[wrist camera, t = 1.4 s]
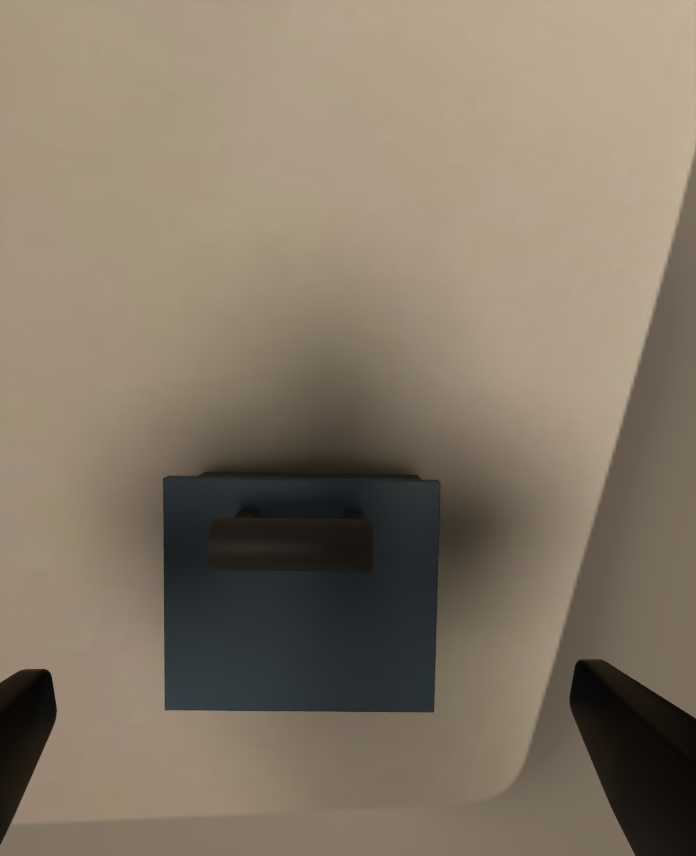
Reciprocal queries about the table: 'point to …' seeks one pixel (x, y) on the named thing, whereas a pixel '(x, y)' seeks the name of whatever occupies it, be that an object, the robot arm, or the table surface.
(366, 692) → the lid
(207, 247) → the table surface
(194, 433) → the table surface
